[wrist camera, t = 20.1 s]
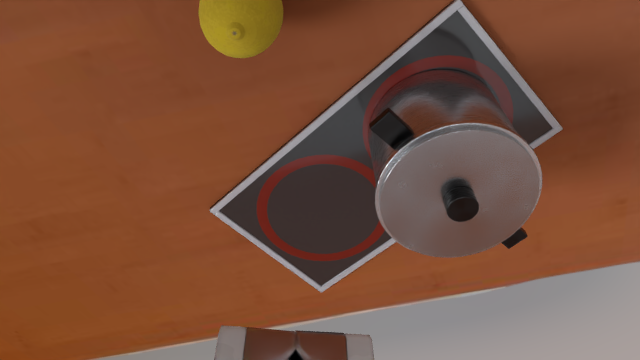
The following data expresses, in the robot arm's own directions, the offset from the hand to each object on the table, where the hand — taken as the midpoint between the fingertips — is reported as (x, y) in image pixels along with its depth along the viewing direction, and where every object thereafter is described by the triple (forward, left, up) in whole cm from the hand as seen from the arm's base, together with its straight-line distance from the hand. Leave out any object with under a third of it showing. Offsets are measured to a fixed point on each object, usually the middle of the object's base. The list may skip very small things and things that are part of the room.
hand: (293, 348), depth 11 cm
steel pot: (+12, -12, -33) cm, 37 cm away
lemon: (-4, -3, -33) cm, 34 cm away
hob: (+8, -17, -33) cm, 38 cm away
